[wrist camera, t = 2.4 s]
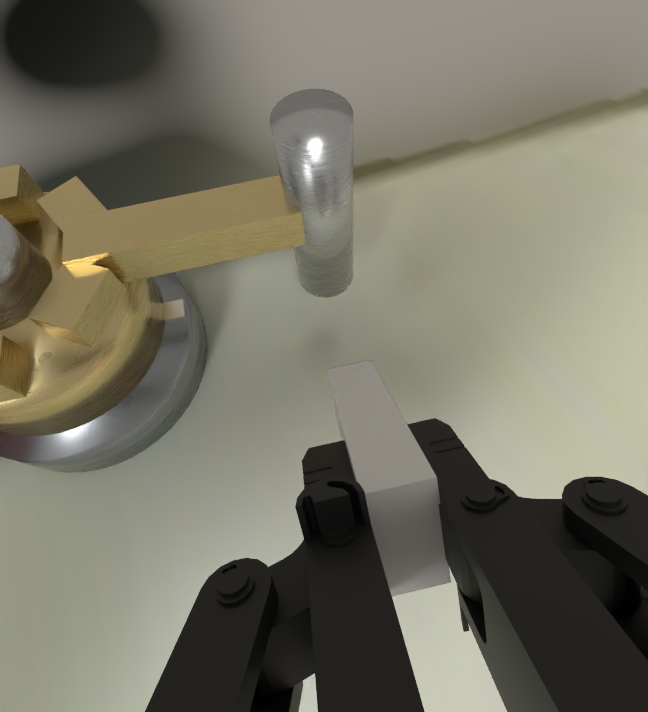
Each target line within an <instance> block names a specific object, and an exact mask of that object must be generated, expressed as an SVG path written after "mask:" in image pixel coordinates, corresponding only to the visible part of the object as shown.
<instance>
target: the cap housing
mask: <svg viewBox="0 0 648 712" xmlns="http://www.w3.org/2000/svg"><path fill="white" fill-rule="evenodd" d="M153 278H154V280H155V281H156V283H157V285H158V287H159V289H160V291H161V294H162V297H163V300H164V307H165V328H164V334H163V338H162V342H161V345H160V348H159V351H158V353H157V355H156V357H155V360H154V362H153V363H152V365H151V367H150V368H149V370H148V372H147V373H146V375H145V376H144V377H143V379H142V380H141V381H140V383H139V384H138V385H137V386H136V387H135V388H134V389H133V391H132V392H131V393H130V394H129V395H128V396H127V397H126V398H124V399H123V400H122V401H121V402H120V403H119V404H117V405H116V406H115V407H114V408H112V409H111V410H109V411H108V412H106V413H105V414H103V415H102V416H100V417H98V418H96V419H95V420H93V421H91V422H89V423H87V424H85V425H82V426H80V427H77V428H75V429H72V430H68V431H65V432H61V433H57V434H51V435H45V436H23V435H15V434H11V433H7V432H3V431H0V456H1V457H5V458H8V459H12V460H16V461H19V462H23V463H26V464H30V465H34V466H37V467H41V468H44V469H48V470H52V471H60V472H85V471H92V470H98V469H102V468H105V467H108V466H112V465H115V464H117V463H120V462H122V461H124V460H127V459H129V458H131V457H133V456H134V455H136V454H138V453H140V452H142V451H143V450H145V449H146V448H148V447H149V446H150V445H152V444H153V443H154V442H156V441H157V440H158V439H160V438H161V437H162V436H163V435H164V434H165V433H166V432H167V431H168V430H169V429H170V428H171V427H172V426H173V425H174V424H175V423H176V422H177V420H178V419H179V418H180V417H181V416H182V414H183V413H184V411H185V410H186V408H187V407H188V405H189V404H190V402H191V400H192V398H193V397H194V395H195V393H196V391H197V389H198V386H199V383H200V381H201V378H202V375H203V371H204V367H205V361H206V352H207V346H206V334H205V329H204V324H203V322H202V319H201V316H200V314H199V312H198V310H197V308H196V306H195V305H194V303H193V301H192V300H191V298H190V297H189V295H188V294H187V292H186V290H185V289H184V287H183V286H182V284H181V283H180V281H179V279H178V278H177V276H176V275H175V273H174V272H172V273H167V274H163V275H158V276H153Z"/></svg>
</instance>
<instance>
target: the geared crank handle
mask: <svg viewBox="0 0 648 712" xmlns="http://www.w3.org/2000/svg"><path fill="white" fill-rule="evenodd" d="M270 126H271V131H272V136H273V141H274V146H275V152H276V157H277V162H278V167H279V173H280V175H277V176H272V177H267V178H262V179H257V180H253V181H248V182H243V183H238V184H233V185H228V186H223V187H219V188H214V189H209V190H204V191H199V192H194V193H190V194H185V195H180V196H175V197H170V198H165V199H160V200H155V201H151V202H146V203H141V204H137V205H132V206H126V207H122V208H117V209H112V210H107V209H106V208H105V207H104V206H103V205H102V204H101V203H100V202H99V201H98V200H97V198H96V197H95V196H94V195H93V194H92V193H91V192H90V191H89V190H88V189H87V187H86V186H85V185H84V184H83V183H82V182H81V181H80V180H79V179H78V178H77V177H76V176H75V177H74V178H72V179H70V180H69V181H67V182H66V183H64V184H62V185H61V186H59V187H57V188H56V189H54V190H53V191H51V192H41V188H40V187H39V186H38V185H37V183H36V182H35V181H34V180H33V179H32V178H31V177H30V175H29V174H28V173H27V172H26V170H25V169H24V168H23V167H22V166H21V165H20V164H17V165H12V166H7V167H2V168H0V431H3V432H7V433H11V434H15V435H23V436H45V435H51V434H57V433H61V432H65V431H68V430H72V429H75V428H77V427H80V426H82V425H85V424H87V423H89V422H91V421H93V420H95V419H96V418H98V417H100V416H102V415H103V414H105V413H106V412H108V411H109V410H111V409H112V408H114V407H115V406H116V405H117V404H119V403H120V402H121V401H122V400H123V399H124V398H126V397H127V396H128V395H129V394H130V393H131V392H132V391H133V389H134V388H135V387H136V386H137V385H138V384H139V383H140V381H141V380H142V379H143V377H144V376H145V375H146V373H147V372H148V370H149V368H150V367H151V365H152V363H153V362H154V360H155V357H156V355H157V353H158V351H159V348H160V345H161V342H162V338H163V334H164V328H165V307H164V300H163V297H162V294H161V291H160V289H159V287H158V285H157V283H156V281H155V280H154V278H153V276H158V275H163V274H167V273H172V272H177V271H181V270H186V269H191V268H196V267H200V266H205V265H210V264H214V263H219V262H224V261H229V260H233V259H238V258H243V257H248V256H252V255H257V254H262V253H266V252H271V251H276V250H281V249H285V248H290V247H294V251H295V256H296V261H297V266H298V272H299V277H300V281H301V284H302V286H303V287H304V288H305V290H306V291H308V292H309V293H311V294H313V295H315V296H318V297H333V296H336V295H338V294H340V293H342V292H343V291H345V290H346V289H347V288H348V287H349V285H350V284H351V282H352V278H353V111H352V107H351V105H350V104H349V102H348V101H347V100H346V99H345V98H343V97H342V96H340V95H339V94H337V93H335V92H332V91H328V90H323V89H307V90H302V91H298V92H295V93H293V94H290V95H288V96H286V97H285V98H283V99H282V100H281V101H279V102H278V103H277V105H276V106H275V107H274V109H273V110H272V113H271V116H270Z"/></svg>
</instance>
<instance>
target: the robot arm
mask: <svg viewBox="0 0 648 712" xmlns="http://www.w3.org/2000/svg"><path fill="white" fill-rule="evenodd" d="M327 374H328V379H329V383H330V388H331V393H332V397H333V402H334V407H335V411H336V416H337V420H338V425H339V430H340V434H341V439H342V441H339V442H334V443H330V444H326V445H321V446H317V447H312V448H309V449H308V451H307V452H306V454H305V456H304V458H303V460H302V465H303V475H304V476H303V477H304V485H305V486H304V488H305V489H304V490H303V491H302V492H301V494H300V495H299V496H298V498H297V502H296V506H295V507H296V511H297V514H298V518H299V522H300V525H301V529H302V532H303V536H304V541H303V542H302V543H301V545H300V546H299V547H298V548H297V549H296V550H295V551H294V552H293V553H292V554H291V555H289V556H287V557H286V558H284V559H283V560H281V561H279V562H277V563H275V564H273V565H271V566H269V567H267V565H266V564H264V563H263V562H261V561H259V560H258V559H250V558H244V559H239V560H234V561H231V562H229V563H227V564H225V565H223V566H221V567H220V568H219V569H217V570H216V571H215V572H214V573H213V574H212V575H211V576H209V578H208V579H207V581H206V582H205V584H204V585H203V587H202V588H201V590H200V592H199V594H198V597H197V599H196V601H195V603H194V605H193V608H192V610H191V612H190V614H189V616H188V619H187V621H186V623H185V625H184V627H183V629H182V632H181V634H180V636H179V638H178V640H177V643H176V645H175V647H174V649H173V651H172V654H171V656H170V658H169V660H168V662H167V665H166V667H165V669H164V671H163V673H162V675H161V678H160V680H159V682H158V684H157V686H156V689H155V691H154V693H153V695H152V697H151V700H150V702H149V704H148V706H147V708H146V711H145V712H298V711H299V705H300V699H301V693H302V688H303V680H304V679H306V678H307V677H309V676H311V675H312V674H314V673H315V678H316V691H317V704H318V712H424V708H423V705H422V701H421V698H420V694H419V691H418V687H417V684H416V680H415V677H414V673H413V670H412V666H411V663H410V659H409V656H408V652H407V649H406V645H405V642H404V638H403V635H402V631H401V628H400V624H399V621H398V617H397V614H396V610H395V607H394V603H393V600H392V596H395V595H399V594H403V593H408V592H412V591H416V590H420V589H425V588H429V587H433V586H437V585H442V584H446V583H450V582H451V580H450V572H449V567H450V569H451V571H452V574H453V576H454V578H455V580H456V582H457V588H458V596H459V604H460V612H461V620H462V625H463V630H464V632H465V631H469V626H470V628H471V630H472V632H473V635H474V637H475V639H476V641H477V644H478V646H479V648H480V650H481V653H482V655H483V657H484V660H485V662H486V664H487V666H488V669H489V671H490V673H491V675H492V678H493V680H494V682H495V684H496V687H497V689H498V691H499V693H500V696H501V698H502V700H503V703H504V705H505V707H506V709H507V712H648V495H646V494H644V493H642V492H641V491H639V490H637V489H635V488H634V487H632V486H630V485H627V484H625V483H622V482H620V481H618V480H614V479H609V478H604V477H583V478H580V479H576V480H573V481H571V482H570V483H569V484H567V485H566V486H565V488H564V491H563V493H562V499H531V498H522V497H518V496H517V495H516V494H515V493H514V492H513V491H512V490H511V489H510V488H509V487H507V486H506V485H505V484H502V483H500V482H498V481H495V480H491V479H489V478H488V477H487V475H486V474H485V473H484V471H483V470H482V469H481V467H480V466H479V465H478V463H477V462H476V461H475V459H474V458H473V457H472V455H471V454H470V453H469V451H468V450H467V449H466V448H465V447H464V444H463V443H462V442H461V440H460V439H458V437H457V435H456V434H455V432H454V431H453V430H452V428H451V427H450V426H449V425H447V424H445V423H443V422H441V421H440V420H438V419H436V418H434V419H429V420H425V421H421V422H416V423H412V424H407V423H406V422H405V420H404V418H403V416H402V415H401V413H400V411H399V409H398V407H397V406H396V404H395V402H394V400H393V399H392V397H391V395H390V393H389V391H388V390H387V388H386V386H385V384H384V383H383V381H382V379H381V377H380V376H379V374H378V372H377V370H376V368H375V367H374V365H373V363H372V361H371V360H368V361H364V362H359V363H355V364H350V365H346V366H341V367H337V368H333V369H328V370H327ZM468 623H469V626H468Z"/></svg>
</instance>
